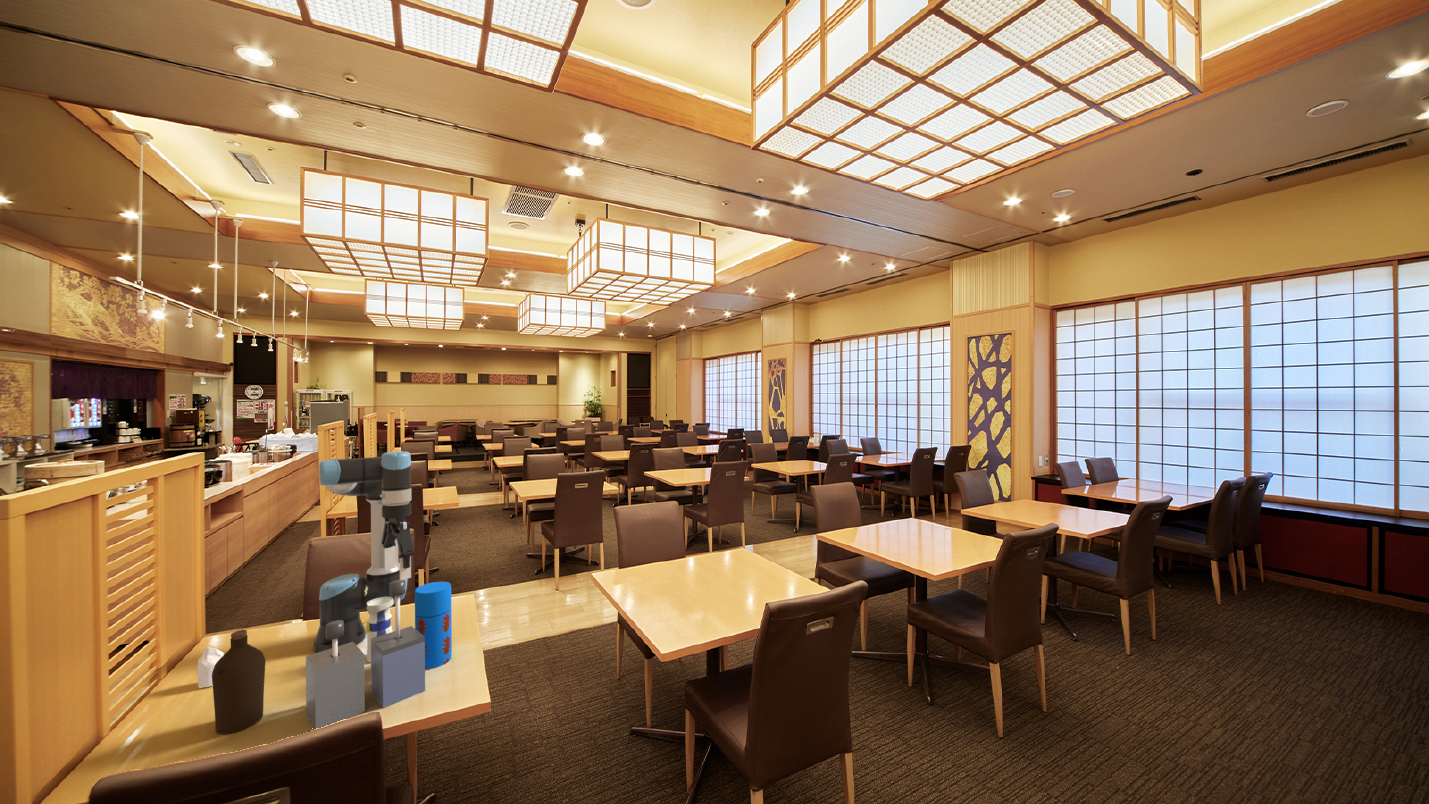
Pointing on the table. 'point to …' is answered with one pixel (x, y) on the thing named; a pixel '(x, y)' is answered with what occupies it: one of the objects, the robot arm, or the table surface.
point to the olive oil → (238, 686)
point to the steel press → (334, 685)
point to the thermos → (434, 622)
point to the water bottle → (378, 619)
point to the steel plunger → (334, 634)
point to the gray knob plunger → (397, 602)
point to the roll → (207, 666)
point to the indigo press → (397, 666)
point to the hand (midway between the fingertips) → (397, 573)
